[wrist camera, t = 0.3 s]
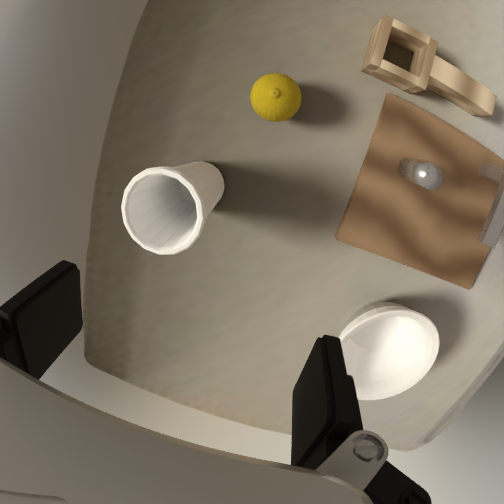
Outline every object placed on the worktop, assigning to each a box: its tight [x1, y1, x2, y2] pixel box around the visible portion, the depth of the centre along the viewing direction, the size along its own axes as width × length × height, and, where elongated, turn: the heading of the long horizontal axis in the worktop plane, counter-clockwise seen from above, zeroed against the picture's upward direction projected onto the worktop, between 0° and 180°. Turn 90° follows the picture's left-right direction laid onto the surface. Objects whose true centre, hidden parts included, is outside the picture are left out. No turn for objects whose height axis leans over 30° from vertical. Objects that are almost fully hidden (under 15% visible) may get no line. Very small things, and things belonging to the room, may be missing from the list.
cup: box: [121, 161, 225, 255], centre depth 33 cm, size 8×8×14 cm
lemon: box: [250, 73, 302, 122], centre depth 31 cm, size 6×6×8 cm
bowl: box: [338, 301, 440, 400], centre depth 41 cm, size 16×16×8 cm
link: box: [361, 15, 497, 116], centre depth 29 cm, size 17×7×5 cm, turn 73°
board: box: [335, 93, 504, 290], centre depth 36 cm, size 20×24×1 cm
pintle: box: [398, 157, 442, 190], centre depth 31 cm, size 3×3×7 cm
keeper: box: [478, 162, 504, 249], centre depth 32 cm, size 10×2×7 cm, turn 163°
